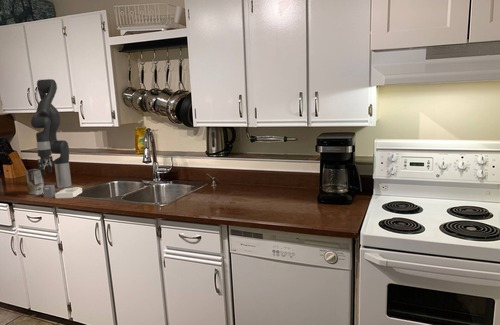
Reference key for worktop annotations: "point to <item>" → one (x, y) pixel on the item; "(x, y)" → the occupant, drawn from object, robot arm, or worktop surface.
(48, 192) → the plug
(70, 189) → the socket plate
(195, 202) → the worktop surface
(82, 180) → the worktop surface
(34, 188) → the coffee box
